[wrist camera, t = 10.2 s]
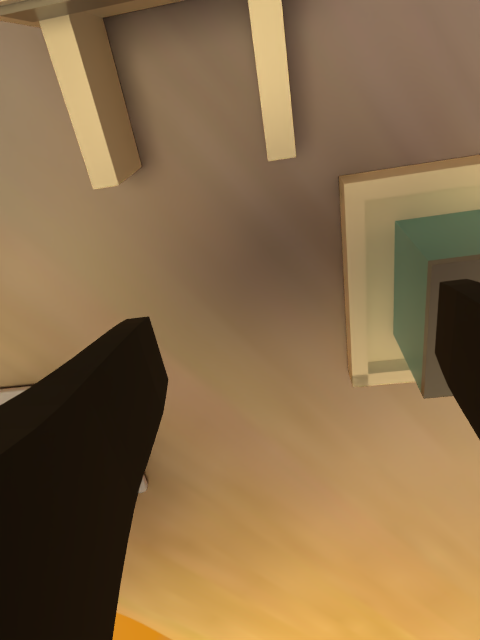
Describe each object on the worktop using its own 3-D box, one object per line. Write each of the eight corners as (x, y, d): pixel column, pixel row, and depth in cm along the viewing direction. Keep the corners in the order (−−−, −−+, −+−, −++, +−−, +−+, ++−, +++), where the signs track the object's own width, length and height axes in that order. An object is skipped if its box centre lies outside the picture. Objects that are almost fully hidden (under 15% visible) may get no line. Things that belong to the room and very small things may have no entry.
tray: (512, 354, 23) (527, 371, 22) (348, 370, 24) (352, 387, 23) (550, 144, 18) (572, 149, 17) (338, 176, 19) (344, 184, 18)
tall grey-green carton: (475, 325, 22) (527, 389, 17) (393, 334, 22) (423, 398, 18) (489, 207, 19) (556, 249, 15) (395, 221, 19) (431, 265, 15)
